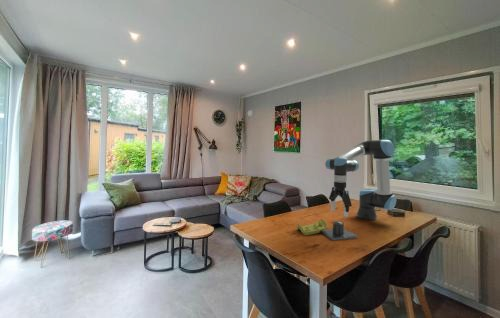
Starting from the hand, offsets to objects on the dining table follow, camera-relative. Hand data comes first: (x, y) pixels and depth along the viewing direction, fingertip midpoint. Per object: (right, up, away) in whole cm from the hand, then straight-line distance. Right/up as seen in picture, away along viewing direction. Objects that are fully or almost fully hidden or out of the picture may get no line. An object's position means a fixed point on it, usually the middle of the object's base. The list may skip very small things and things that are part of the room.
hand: (339, 213), depth 150 cm
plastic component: (-16, -14, +6) cm, 22 cm away
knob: (-1, -13, 0) cm, 13 cm away
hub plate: (-1, -14, +1) cm, 14 cm away
